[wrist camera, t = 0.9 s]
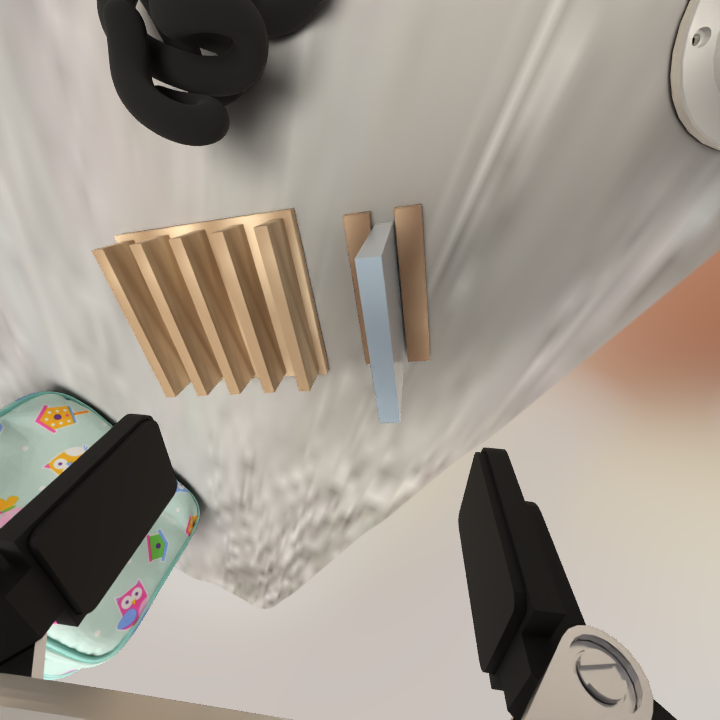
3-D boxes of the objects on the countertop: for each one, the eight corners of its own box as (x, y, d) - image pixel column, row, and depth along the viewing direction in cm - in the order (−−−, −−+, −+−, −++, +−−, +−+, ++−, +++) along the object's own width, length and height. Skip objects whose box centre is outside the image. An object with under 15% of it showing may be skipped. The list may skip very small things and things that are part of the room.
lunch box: (14, 400, 44) (-273, 575, 26) (50, 363, 40) (-260, 540, 22) (176, 522, 53) (49, 716, 35) (219, 502, 49) (101, 710, 31)
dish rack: (293, 208, 28) (274, 216, 24) (329, 368, 35) (318, 395, 31) (122, 233, 31) (80, 244, 27) (188, 376, 38) (162, 401, 34)
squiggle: (270, 18, 26) (214, 209, 26) (109, -150, 19) (32, 115, 19) (378, -88, 18) (296, 188, 18) (169, -450, 11) (35, 11, 11)
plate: (392, 221, 27) (381, 255, 18) (404, 345, 32) (400, 422, 23) (375, 223, 27) (354, 258, 18) (389, 346, 33) (379, 423, 23)
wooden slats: (421, 203, 26) (421, 205, 25) (429, 353, 32) (430, 360, 31) (345, 214, 27) (342, 216, 26) (367, 357, 34) (366, 364, 33)
